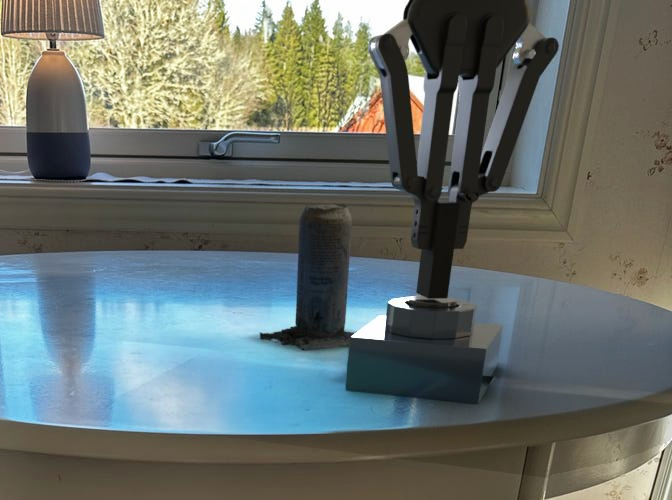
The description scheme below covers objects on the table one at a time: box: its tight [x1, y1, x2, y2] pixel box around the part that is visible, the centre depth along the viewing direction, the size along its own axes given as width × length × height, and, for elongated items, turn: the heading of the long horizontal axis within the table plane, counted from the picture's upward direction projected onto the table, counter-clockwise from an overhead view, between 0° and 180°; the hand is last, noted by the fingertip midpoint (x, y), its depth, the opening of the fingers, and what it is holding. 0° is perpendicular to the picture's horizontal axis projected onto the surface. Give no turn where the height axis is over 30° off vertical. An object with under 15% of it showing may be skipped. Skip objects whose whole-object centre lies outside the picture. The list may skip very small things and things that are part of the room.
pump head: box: [408, 294, 458, 309], centre depth 73 cm, size 4×4×2 cm
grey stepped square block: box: [344, 296, 504, 405], centre depth 74 cm, size 10×10×6 cm
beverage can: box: [258, 203, 356, 352], centre depth 84 cm, size 9×8×12 cm
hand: (431, 295), depth 72 cm, fingers closed
